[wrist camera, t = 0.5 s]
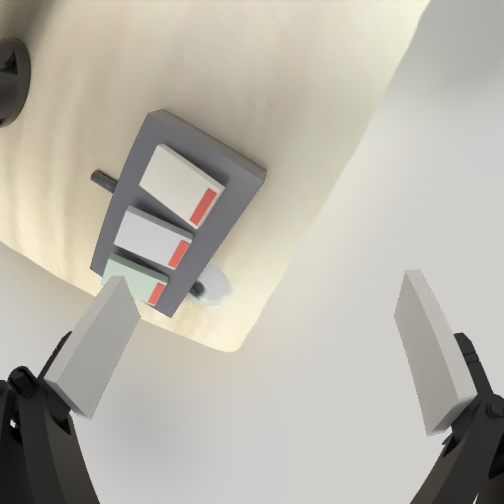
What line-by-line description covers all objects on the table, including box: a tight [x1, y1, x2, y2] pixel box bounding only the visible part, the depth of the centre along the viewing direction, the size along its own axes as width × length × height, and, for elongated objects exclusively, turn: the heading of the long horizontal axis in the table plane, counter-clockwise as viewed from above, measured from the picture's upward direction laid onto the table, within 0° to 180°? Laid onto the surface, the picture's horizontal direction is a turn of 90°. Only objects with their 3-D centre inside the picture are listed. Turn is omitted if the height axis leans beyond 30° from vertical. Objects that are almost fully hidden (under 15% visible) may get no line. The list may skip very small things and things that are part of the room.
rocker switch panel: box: [90, 109, 266, 318], centre depth 35 cm, size 19×24×5 cm
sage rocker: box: [101, 253, 168, 306], centre depth 36 cm, size 8×5×1 cm, turn 58°
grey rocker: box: [114, 205, 193, 270], centre depth 32 cm, size 8×5×1 cm, turn 57°
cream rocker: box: [139, 144, 225, 230], centre depth 29 cm, size 8×5×1 cm, turn 57°
